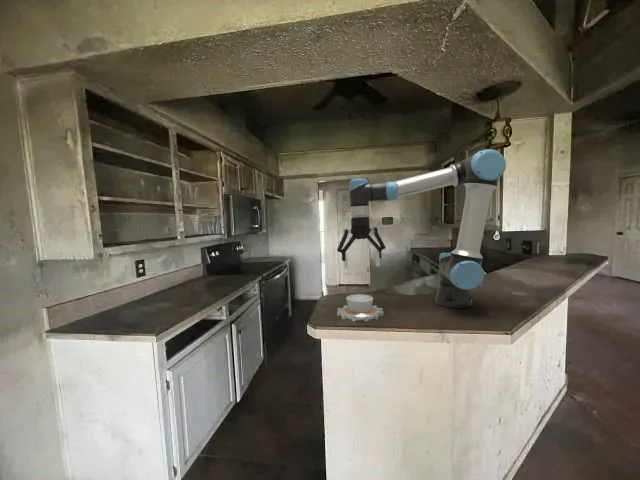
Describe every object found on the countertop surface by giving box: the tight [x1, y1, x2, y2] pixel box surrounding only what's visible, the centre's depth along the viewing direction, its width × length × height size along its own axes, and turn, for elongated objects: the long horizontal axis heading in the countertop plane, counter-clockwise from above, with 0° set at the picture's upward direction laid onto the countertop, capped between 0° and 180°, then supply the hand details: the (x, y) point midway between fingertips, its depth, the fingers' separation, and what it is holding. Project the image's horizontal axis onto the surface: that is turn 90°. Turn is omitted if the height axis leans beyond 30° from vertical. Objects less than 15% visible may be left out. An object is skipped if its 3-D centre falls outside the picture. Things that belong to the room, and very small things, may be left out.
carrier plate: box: [336, 304, 385, 322], centre depth 133 cm, size 19×19×2 cm
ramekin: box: [345, 293, 374, 313], centre depth 132 cm, size 11×11×5 cm
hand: (362, 267), depth 132 cm, fingers open, 13 cm apart
